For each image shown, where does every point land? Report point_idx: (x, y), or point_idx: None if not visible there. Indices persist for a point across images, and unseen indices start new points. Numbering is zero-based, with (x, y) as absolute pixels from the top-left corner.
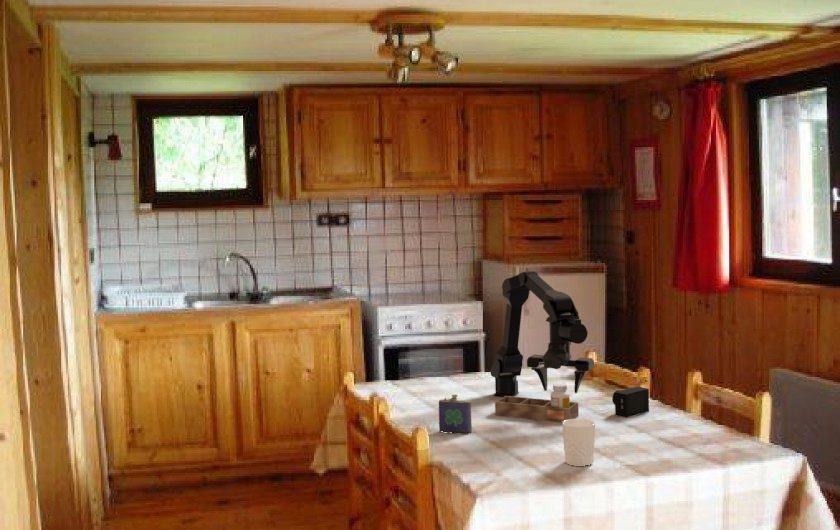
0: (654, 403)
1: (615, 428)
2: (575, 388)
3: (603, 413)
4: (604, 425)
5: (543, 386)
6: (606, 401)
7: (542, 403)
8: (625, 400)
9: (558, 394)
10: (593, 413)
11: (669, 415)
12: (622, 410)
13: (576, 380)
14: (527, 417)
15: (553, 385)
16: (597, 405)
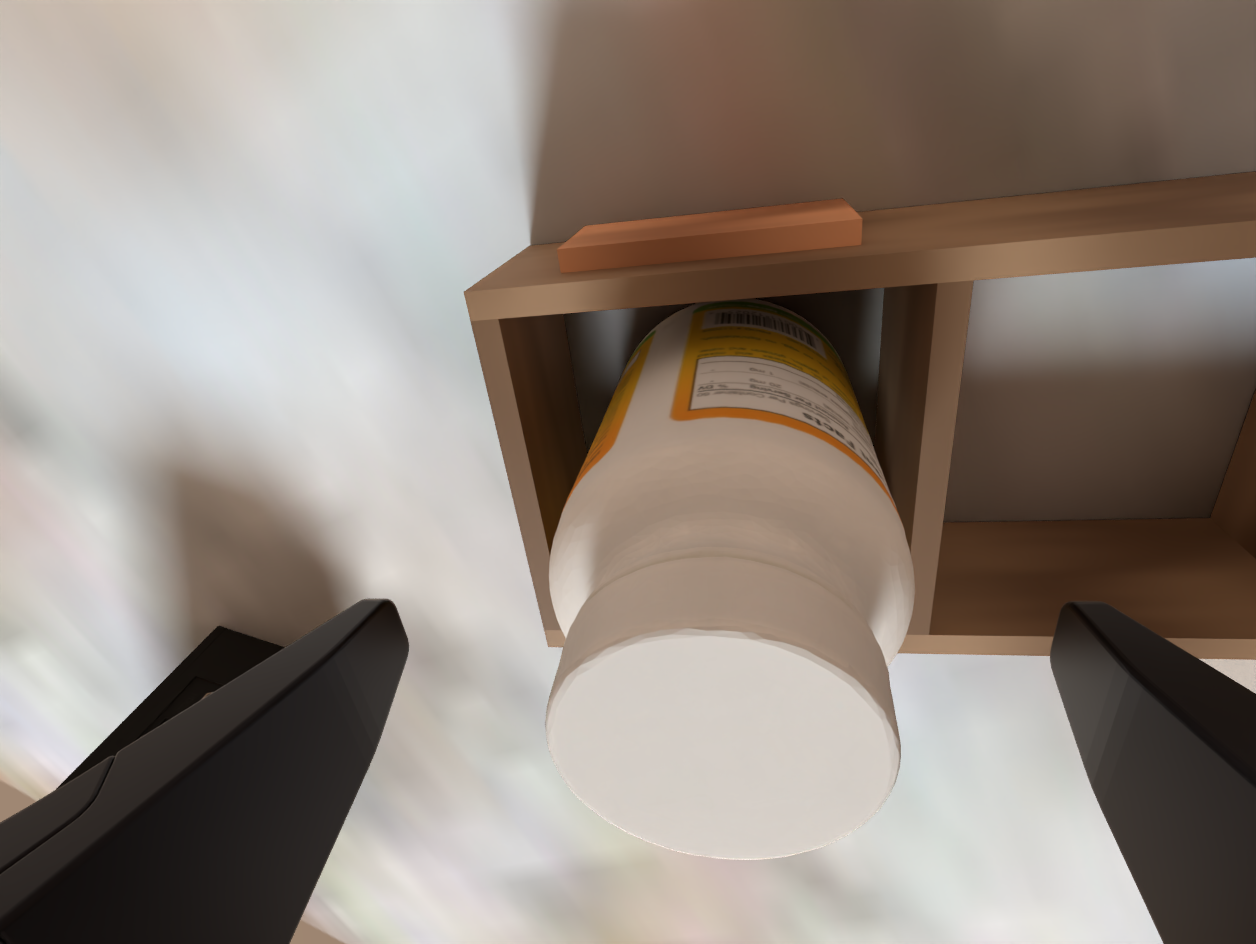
0: (322, 925)
1: (9, 255)
2: (306, 657)
3: (439, 677)
4: (166, 317)
5: (1187, 662)
6: (598, 923)
7: (1067, 598)
8: (105, 754)
9: (683, 478)
10: (510, 656)
11: (65, 746)
12: (221, 679)
13: (80, 815)
14: (1203, 178)
15: (864, 685)
16: (604, 842)
